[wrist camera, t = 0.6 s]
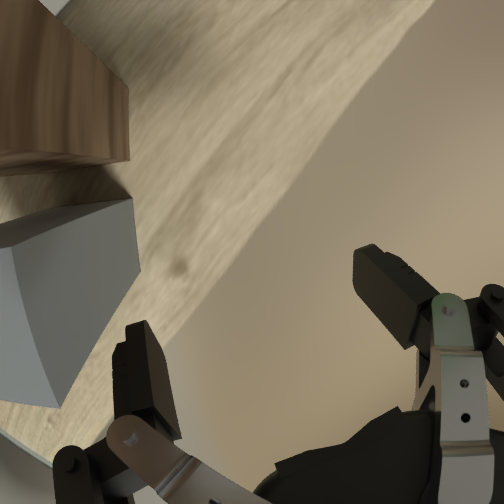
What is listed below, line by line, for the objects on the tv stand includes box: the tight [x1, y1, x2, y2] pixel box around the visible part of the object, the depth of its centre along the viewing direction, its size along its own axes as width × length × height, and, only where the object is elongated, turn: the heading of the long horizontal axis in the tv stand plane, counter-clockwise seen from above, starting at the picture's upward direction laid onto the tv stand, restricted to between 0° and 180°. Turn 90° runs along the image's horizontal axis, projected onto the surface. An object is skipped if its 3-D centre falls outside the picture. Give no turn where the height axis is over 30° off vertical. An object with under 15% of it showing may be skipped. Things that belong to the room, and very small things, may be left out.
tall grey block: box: [0, 198, 141, 409], centre depth 22 cm, size 10×8×23 cm
